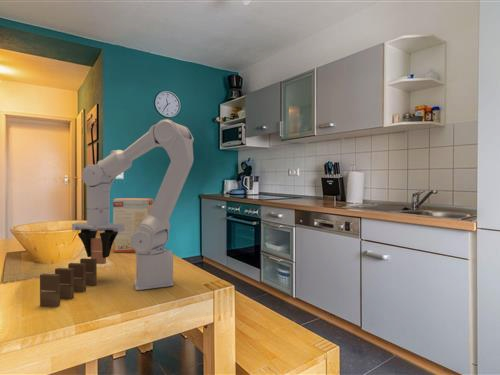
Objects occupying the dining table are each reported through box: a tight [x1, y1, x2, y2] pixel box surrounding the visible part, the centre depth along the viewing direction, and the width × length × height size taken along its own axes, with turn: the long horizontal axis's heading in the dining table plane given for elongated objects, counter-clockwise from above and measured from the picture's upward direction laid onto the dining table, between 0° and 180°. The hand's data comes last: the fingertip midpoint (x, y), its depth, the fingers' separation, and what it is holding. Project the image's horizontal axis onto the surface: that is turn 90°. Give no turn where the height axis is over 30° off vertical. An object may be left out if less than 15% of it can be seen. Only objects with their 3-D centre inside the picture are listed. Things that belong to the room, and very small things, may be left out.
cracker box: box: [112, 197, 154, 254], centre depth 119 cm, size 14×6×21 cm, turn 84°
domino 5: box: [90, 237, 107, 265], centre depth 85 cm, size 1×4×7 cm, turn 84°
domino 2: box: [54, 267, 75, 300], centre depth 72 cm, size 1×4×7 cm, turn 84°
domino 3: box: [67, 262, 87, 293], centre depth 77 cm, size 1×4×7 cm, turn 84°
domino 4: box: [79, 257, 98, 287], centre depth 81 cm, size 1×4×7 cm, turn 84°
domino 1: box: [39, 273, 61, 308], centre depth 68 cm, size 1×4×7 cm, turn 84°
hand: (98, 256), depth 85 cm, fingers closed on domino 5, 4 cm apart
